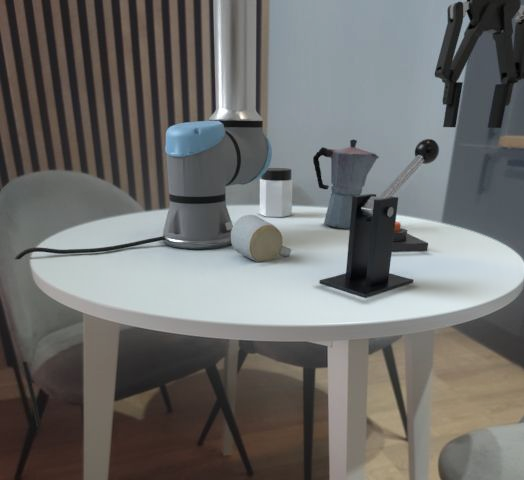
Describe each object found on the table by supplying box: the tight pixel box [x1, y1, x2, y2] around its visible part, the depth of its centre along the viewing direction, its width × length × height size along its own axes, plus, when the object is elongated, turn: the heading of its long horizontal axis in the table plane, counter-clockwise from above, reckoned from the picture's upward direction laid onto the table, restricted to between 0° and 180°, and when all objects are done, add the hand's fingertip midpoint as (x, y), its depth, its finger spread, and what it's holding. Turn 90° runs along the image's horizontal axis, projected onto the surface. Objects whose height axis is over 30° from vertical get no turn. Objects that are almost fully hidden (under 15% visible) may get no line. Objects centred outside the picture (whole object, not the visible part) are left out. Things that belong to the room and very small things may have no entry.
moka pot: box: [312, 139, 380, 230], centre depth 120 cm, size 10×15×20 cm, turn 89°
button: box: [394, 221, 401, 232], centre depth 100 cm, size 4×4×2 cm
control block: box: [392, 227, 429, 253], centre depth 101 cm, size 12×10×4 cm
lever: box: [361, 138, 440, 222], centre depth 75 cm, size 17×4×4 cm
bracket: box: [318, 193, 414, 299], centre depth 76 cm, size 12×9×14 cm
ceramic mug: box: [231, 214, 292, 263], centre depth 92 cm, size 11×8×8 cm
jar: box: [259, 167, 294, 218], centre depth 136 cm, size 9×8×12 cm
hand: (471, 127), depth 83 cm, fingers open, 7 cm apart
